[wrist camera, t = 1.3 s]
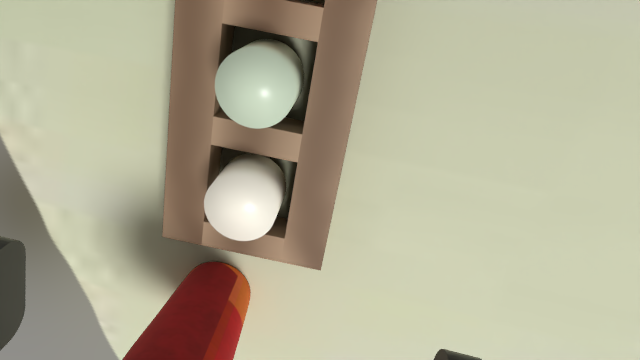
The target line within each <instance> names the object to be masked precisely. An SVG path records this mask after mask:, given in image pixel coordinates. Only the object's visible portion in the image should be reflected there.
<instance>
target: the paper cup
mask: <svg viewBox="0 0 640 360" xmlns="http://www.w3.org/2000/svg"><path fill="white" fill-rule="evenodd" d="M249 300H250V287H249V284H248V282H247V280H246V278H245V277H244V275H243V274H242V273H241V272H240V271H239V270H237V269H236V268H234V267H233V266H231V265H228V264H226V263H222V262H206V263H203V264H200V265H198V266H197V267H195V268H194V269H193V270H192V271H191V272H190V273H189V274H188V276H187V277H186V278H185V279H184V280H183V282H182V283H181V284H180V285H179V287H178V288H177V289H176V291H175V292H174V293H173V295H172V296H171V297H170V298H169V300H168V301H167V302H166V304H165V305H164V306H163V308H162V309H161V310H160V312H159V313H158V314H157V316H156V317H155V318H154V319H153V321H152V322H151V323H150V324H149V326H148V327H147V328H146V329H145V331H144V332H143V333H142V335H141V336H140V337H139V338H138V340H137V341H136V342H135V343H134V345H133V346H132V347H131V349H130V350H129V351H128V353H127V354H126V355H125V357H124V358H123V360H233V358H234V354H235V351H236V347H237V344H238V341H239V337H240V334H241V330H242V327H243V323H244V320H245V316H246V313H247V309H248V305H249Z"/></svg>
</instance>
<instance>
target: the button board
mask: <svg viewBox="0 0 640 360" xmlns="http://www.w3.org/2000/svg"><path fill="white" fill-rule="evenodd" d="M376 4H377V0H325V4H321V3H316V2H311V1H306V0H175V15H174V33H173V51H172V70H171V88H170V106H169V124H168V142H167V160H166V178H165V196H164V215H163V233H162V237H166V238H170V239H175V240H180V241H184V242H189V243H194V244H199V245H203V246H208V247H213V248H217V249H222V250H227V251H232V252H236V253H241V254H246V255H251V256H255V257H260V258H265V259H269V260H274V261H279V262H284V263H288V264H293V265H298V266H302V267H307V268H312V269H317V270H321V266H322V261H323V256H324V252H325V247H326V242H327V237H328V233H329V228H330V223H331V218H332V213H333V209H334V204H335V199H336V194H337V190H338V185H339V180H340V175H341V171H342V166H343V161H344V156H345V152H346V147H347V142H348V137H349V132H350V128H351V123H352V118H353V113H354V109H355V104H356V99H357V94H358V90H359V85H360V80H361V75H362V70H363V66H364V61H365V56H366V51H367V47H368V42H369V37H370V32H371V28H372V23H373V18H374V13H375V8H376ZM234 26H239V27H244V28H249V29H254V30H259V31H264V32H269V33H274V34H279V35H284V36H290V37H295V38H300V39H305V40H310V41H315V42H318V45H317V51H316V57H315V63H314V69H313V75H312V81H311V86H310V92H309V98H308V104H307V110H306V116H305V121H301V120H296V119H291V118H286V117H284V118H283V119H282V120H281V121H280V122H279V123H277V124H275V125H273V126H270V127H267V128H261V129H255V128H249V127H245V126H242V125H240V124H238V123H236V122H235V121H233V120H232V119H231V118H230V117H229V116H227V114H226V113H225V112H224V111H223V109H222V108H221V106H220V104H219V102H218V100H217V97H216V93H215V78H216V74H217V71H218V68H219V66H220V65H221V63H222V62H223V61H224V59H225V58H226V57H228V56H229V55H230V54H231V53H232V44H233V34H234ZM222 147H225V148H230V149H234V150H239V151H244V152H249V153H254V154H259V155H264V156H269V157H273V158H278V159H283V160H288V161H293V162H298V163H297V169H296V175H295V181H294V187H293V192H292V198H291V204H290V210H289V216H288V219H286V218H281V217H276V219H275V221H274V223H273V225H272V227H271V229H270V230H269V231H268V232H267V233H266V234H265V235H263V236H262V237H260V238H258V239H255V240H250V241H238V240H233V239H230V238H228V237H226V236H224V235H222V234H221V233H219V232H218V231H217V230H216V229H215V228H214V227H213V226H212V225H211V224H210V222H209V221H208V219H207V216H206V214H205V210H204V198H205V195H206V192H207V190H208V188H209V187H210V186H211V184H212V183H213V182H214V181H215V179H216V178H217V177H218V176H219V171H220V161H221V152H222Z"/></svg>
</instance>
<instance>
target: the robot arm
mask: <svg viewBox="0 0 640 360" xmlns="http://www.w3.org/2000/svg"><path fill="white" fill-rule="evenodd" d="M25 261H26V256H25V247H24V244H23V243H22V242H20V241H17V240H14V239H10V238H5V237H1V236H0V350H1V349H2V348H3V347H4V346H5V345H6V344H7V343H8V342H9V341H10V340H11V338H12V337H13V336H14V335H15V333H16V331H17V330H18V328H19V326H20V323H21V321H22V319H23V316H24V311H25ZM434 360H482V359H480V358H477V357H473V356H469V355H465V354H461V353H457V352H453V351H449V350H445V349H441V350H439V351H438V352H437V354H436V356H435V358H434Z"/></svg>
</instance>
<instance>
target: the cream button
mask: <svg viewBox="0 0 640 360" xmlns="http://www.w3.org/2000/svg"><path fill="white" fill-rule="evenodd" d="M286 188H287V187H286V179H285V176H284V174H283V172H282V170H281V169H280V168H279V166H278V165H277V164H276V163H275V162H273V161H272V160H271V159H269V158H267V157H265V156H262V155H259V154H243V155H240V156H237V157H235V158H234V159H232V160H231V161H230V162H229V163H228V164H227V165H226V167H225V168H224V169H223V170H222V172H221V173H220V174H219V176H218V177H217V178H216V179H215V181H214V182H213V183H212V184H211V186H210V187H209V188H208V190H207V192H206V195H205V198H204V210H205V214H206V216H207V219H208V221H209V222H210V224H211V225H212V226H213V227H214V228H215V229H216V230H217V231H218V232H219V233H221V234H222V235H224V236H226V237H228V238H230V239H233V240H238V241H250V240H255V239H258V238H260V237H262V236H263V235H265V234H266V233H267V232H268V231H269V230H270V229H271V227H272V225H273V223H274V221H275V219H276V216H277V214H278V212H279V209H280V207H281V204H282V202H283V200H284V197H285V194H286Z"/></svg>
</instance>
